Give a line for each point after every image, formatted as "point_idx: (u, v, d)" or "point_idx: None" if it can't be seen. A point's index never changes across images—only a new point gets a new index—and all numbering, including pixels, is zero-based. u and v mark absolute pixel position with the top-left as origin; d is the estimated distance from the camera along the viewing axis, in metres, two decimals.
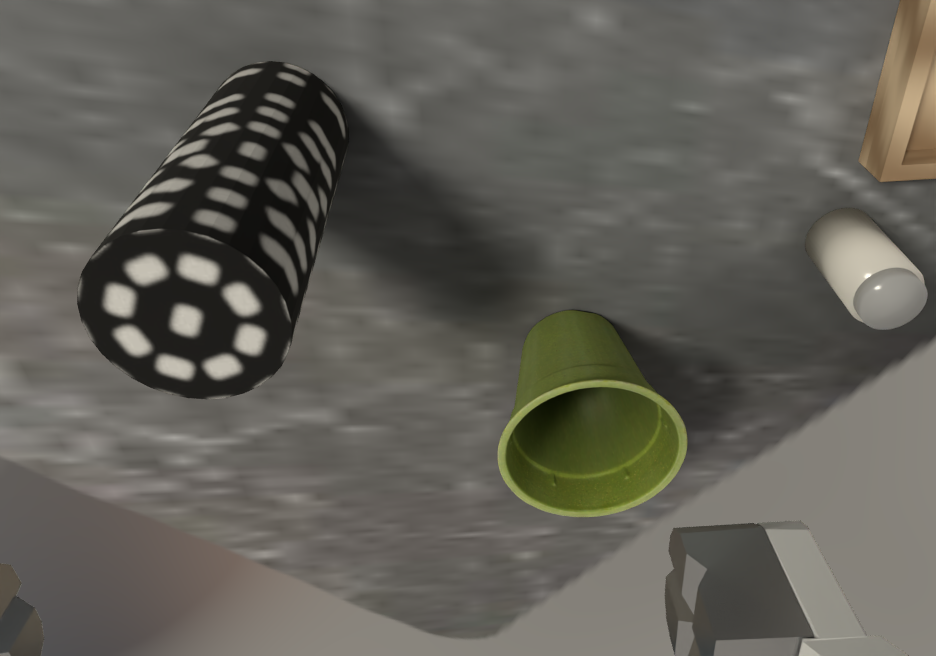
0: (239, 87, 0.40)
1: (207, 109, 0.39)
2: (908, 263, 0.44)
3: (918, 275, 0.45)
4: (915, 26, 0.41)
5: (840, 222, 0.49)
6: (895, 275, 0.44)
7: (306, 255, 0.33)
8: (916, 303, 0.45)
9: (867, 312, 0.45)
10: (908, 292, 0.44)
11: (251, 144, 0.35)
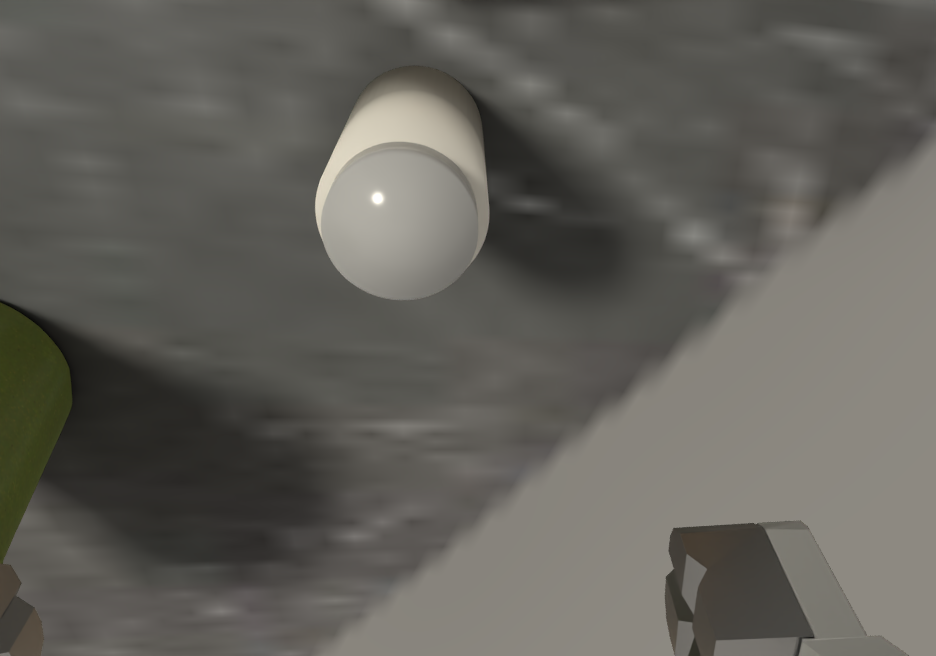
0: None
1: None
2: (429, 132, 0.18)
3: (461, 163, 0.18)
4: None
5: (377, 86, 0.23)
6: (380, 154, 0.18)
7: None
8: (455, 230, 0.18)
9: (345, 254, 0.19)
10: (423, 199, 0.18)
11: None
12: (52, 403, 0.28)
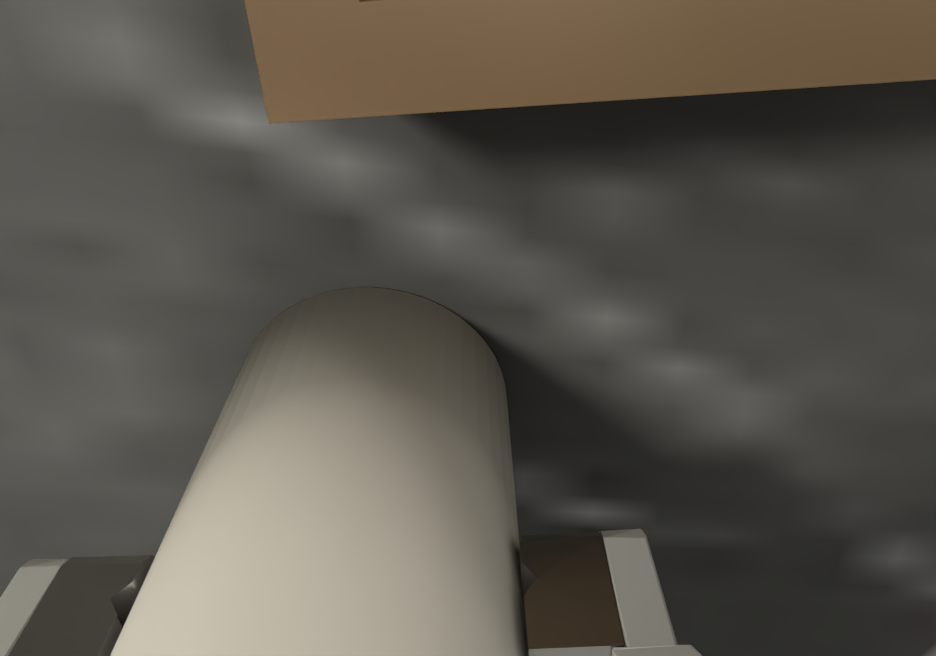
0: None
1: None
2: None
3: None
4: None
5: (278, 356, 0.10)
6: None
7: None
8: None
9: None
10: None
11: None
12: None
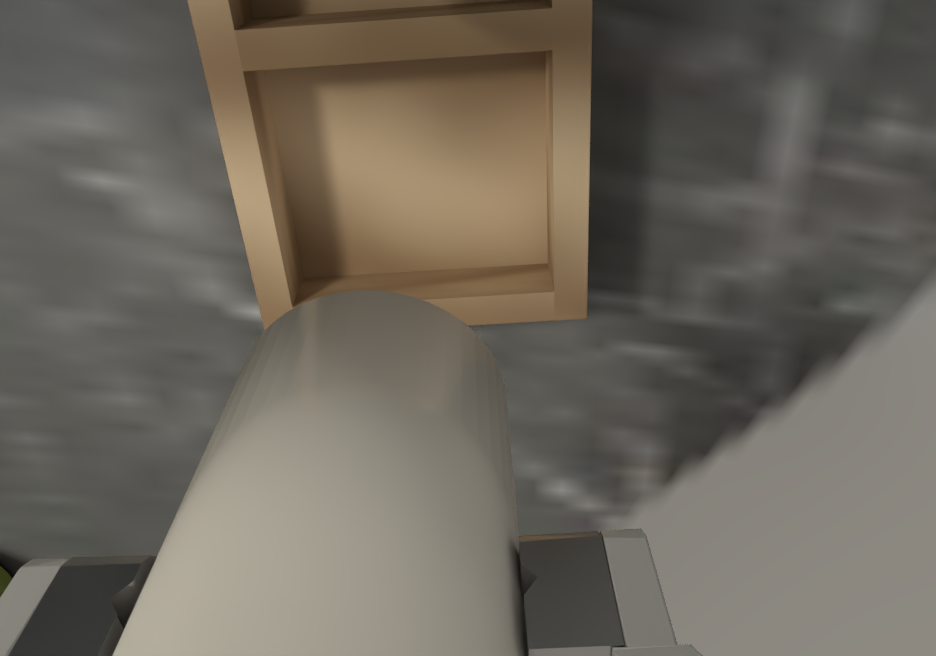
0: None
1: None
2: None
3: None
4: None
5: (278, 359, 0.10)
6: None
7: None
8: None
9: None
10: None
11: None
12: None
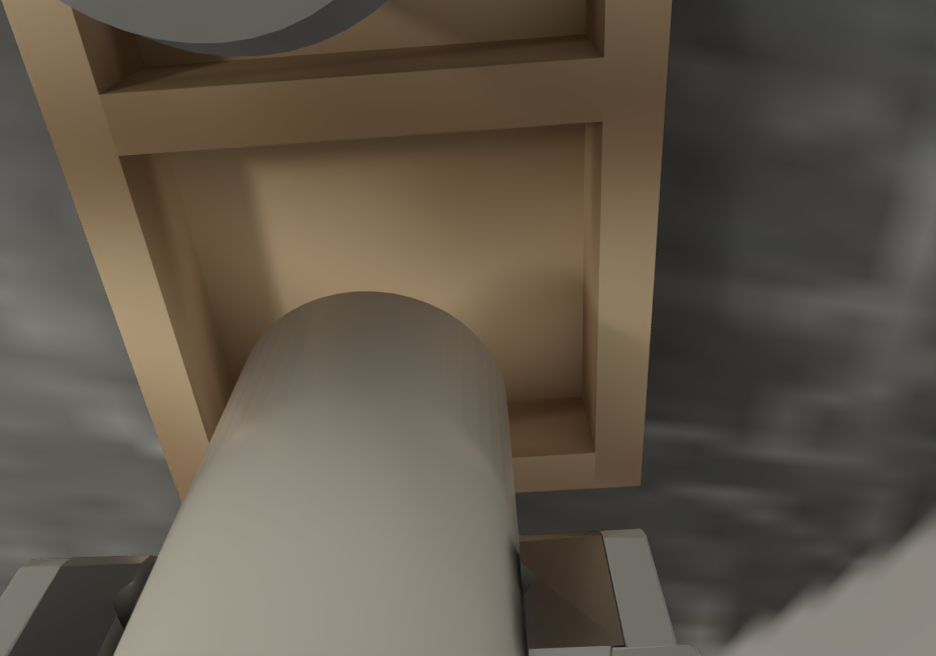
0: None
1: None
2: None
3: None
4: None
5: (278, 360, 0.10)
6: None
7: None
8: None
9: None
10: None
11: None
12: None
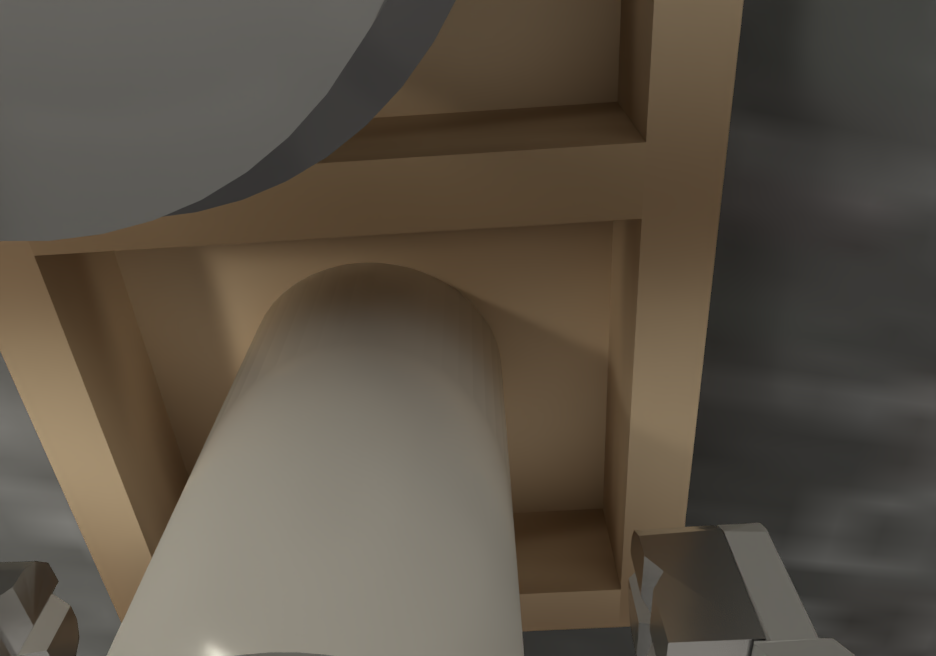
0: None
1: None
2: (370, 621, 0.06)
3: None
4: None
5: (288, 323, 0.11)
6: None
7: None
8: None
9: None
10: None
11: None
12: None
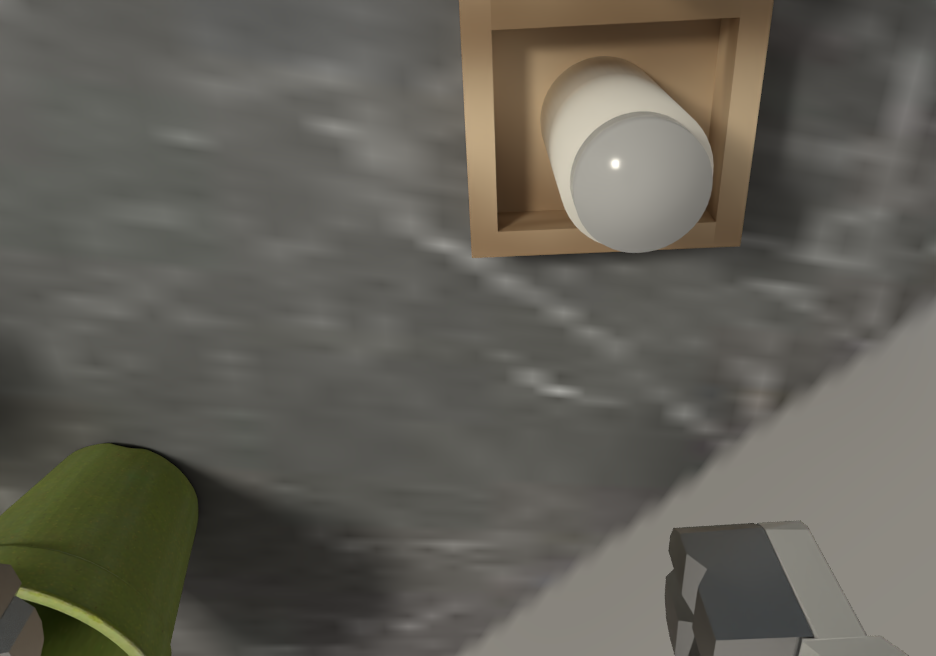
0: None
1: None
2: (670, 104, 0.21)
3: (695, 132, 0.21)
4: None
5: (581, 71, 0.26)
6: (635, 120, 0.20)
7: None
8: (692, 189, 0.21)
9: (591, 209, 0.21)
10: (669, 161, 0.20)
11: None
12: (190, 531, 0.36)
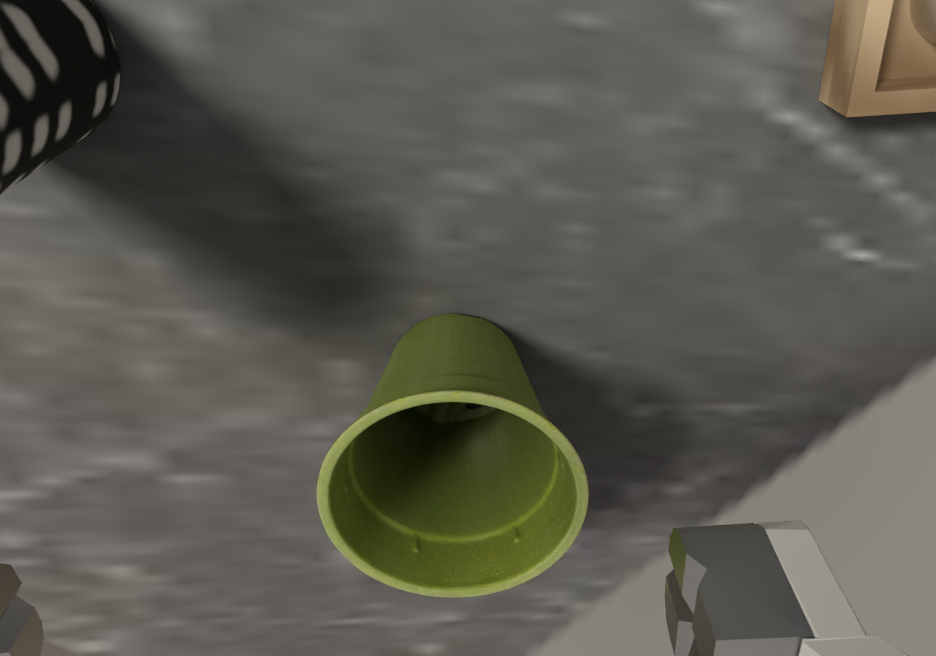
0: None
1: None
2: None
3: None
4: None
5: None
6: None
7: None
8: None
9: None
10: None
11: None
12: None
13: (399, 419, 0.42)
